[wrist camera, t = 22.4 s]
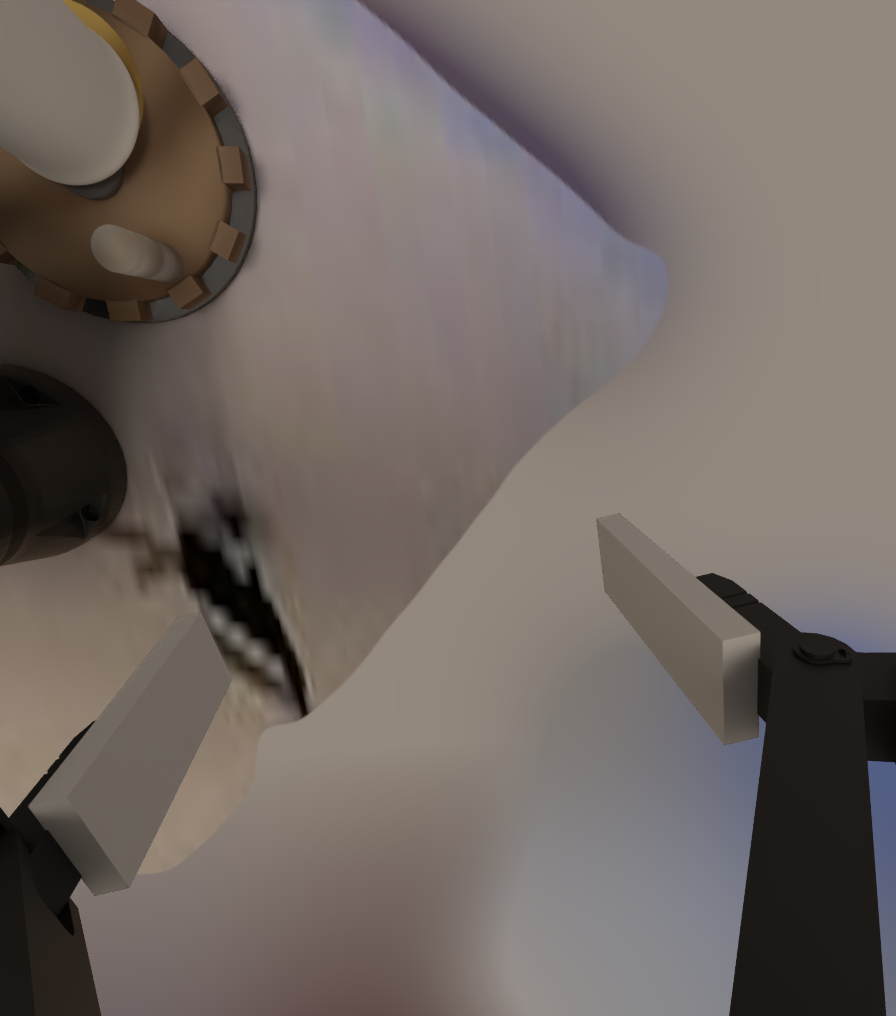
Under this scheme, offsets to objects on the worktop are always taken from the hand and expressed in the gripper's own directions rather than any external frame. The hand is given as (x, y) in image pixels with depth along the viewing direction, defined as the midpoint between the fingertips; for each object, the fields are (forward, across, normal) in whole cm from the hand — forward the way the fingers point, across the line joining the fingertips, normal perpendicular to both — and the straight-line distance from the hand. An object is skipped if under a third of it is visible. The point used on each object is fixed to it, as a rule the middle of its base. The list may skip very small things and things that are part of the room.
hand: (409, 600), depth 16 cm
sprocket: (+26, -15, +22) cm, 37 cm away
